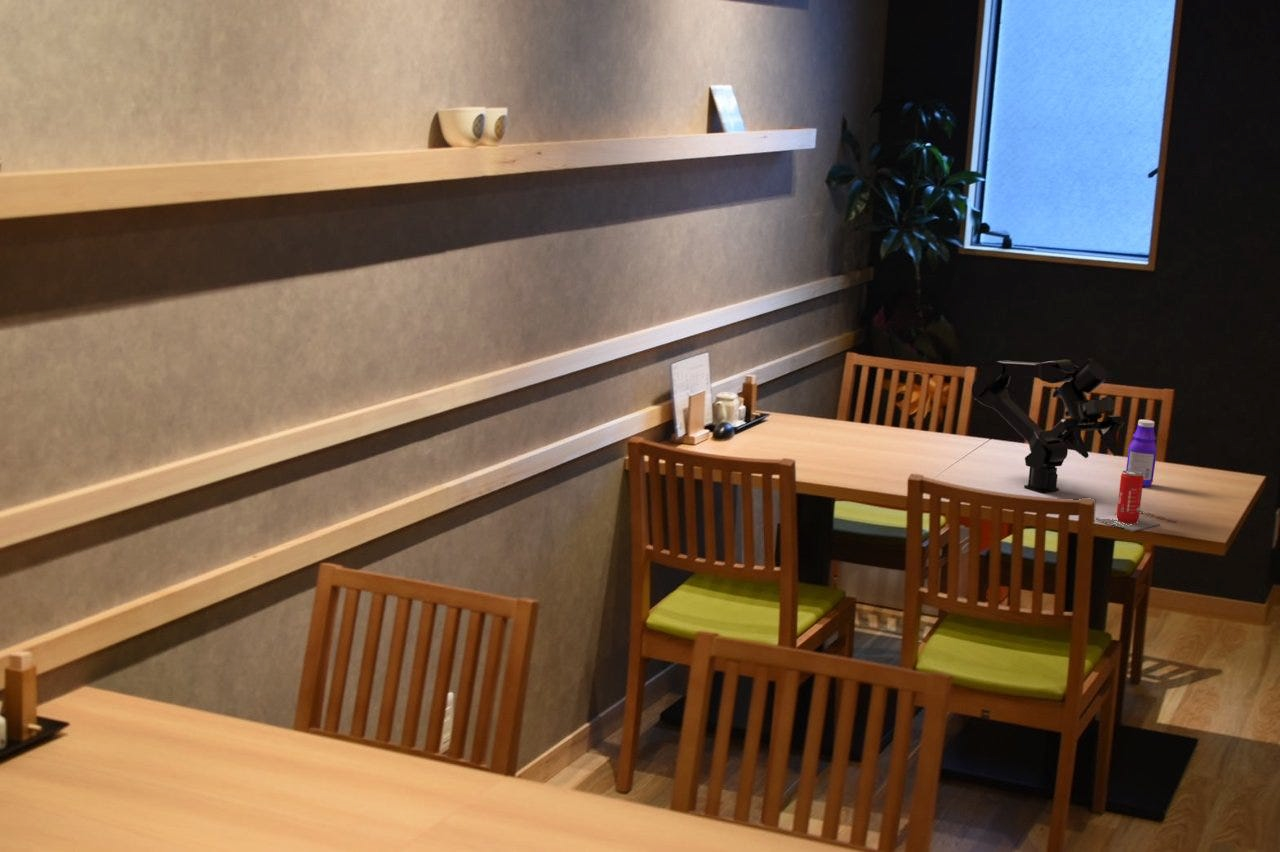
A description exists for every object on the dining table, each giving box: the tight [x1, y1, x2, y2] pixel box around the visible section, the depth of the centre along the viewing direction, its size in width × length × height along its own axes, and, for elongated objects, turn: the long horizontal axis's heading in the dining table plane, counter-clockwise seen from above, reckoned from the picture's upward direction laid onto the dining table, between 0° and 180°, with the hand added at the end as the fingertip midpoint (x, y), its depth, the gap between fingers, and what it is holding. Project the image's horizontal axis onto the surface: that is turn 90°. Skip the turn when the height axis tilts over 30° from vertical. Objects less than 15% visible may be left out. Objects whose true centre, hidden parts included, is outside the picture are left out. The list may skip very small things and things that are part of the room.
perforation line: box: [1140, 510, 1177, 524], centre depth 376 cm, size 14×1×1 cm, turn 38°
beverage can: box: [1116, 469, 1144, 523], centre depth 368 cm, size 5×5×12 cm
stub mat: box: [1095, 517, 1161, 533], centre depth 369 cm, size 11×11×1 cm
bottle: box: [1125, 419, 1158, 488], centre depth 404 cm, size 7×6×17 cm
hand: (1101, 456), depth 377 cm, fingers open, 9 cm apart
